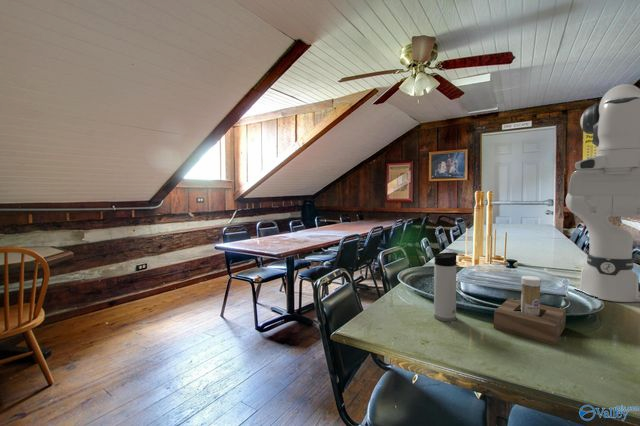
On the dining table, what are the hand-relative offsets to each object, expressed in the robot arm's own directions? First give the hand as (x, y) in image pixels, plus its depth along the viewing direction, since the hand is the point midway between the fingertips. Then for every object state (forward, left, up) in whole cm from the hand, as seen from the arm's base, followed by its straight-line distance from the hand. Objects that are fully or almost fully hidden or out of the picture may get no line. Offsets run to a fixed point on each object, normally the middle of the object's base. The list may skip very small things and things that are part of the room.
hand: (615, 213), depth 85 cm
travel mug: (+23, -36, -32) cm, 53 cm away
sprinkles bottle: (+14, -16, -31) cm, 38 cm away
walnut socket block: (+14, -16, -32) cm, 38 cm away
